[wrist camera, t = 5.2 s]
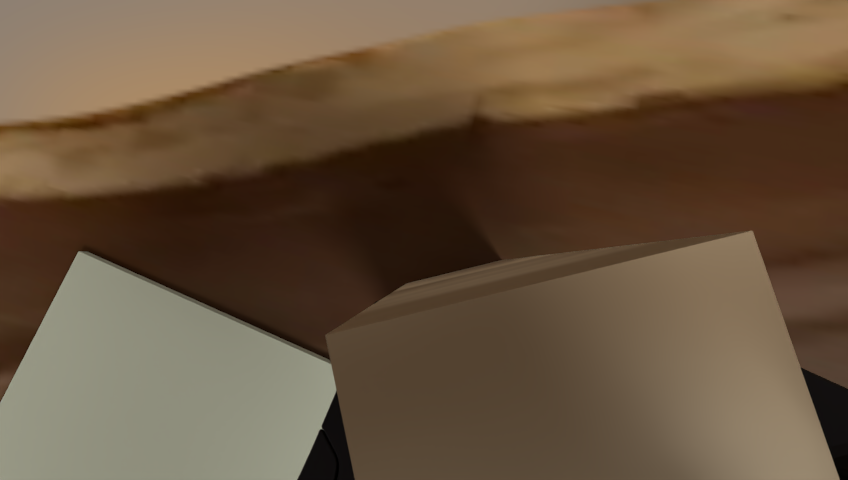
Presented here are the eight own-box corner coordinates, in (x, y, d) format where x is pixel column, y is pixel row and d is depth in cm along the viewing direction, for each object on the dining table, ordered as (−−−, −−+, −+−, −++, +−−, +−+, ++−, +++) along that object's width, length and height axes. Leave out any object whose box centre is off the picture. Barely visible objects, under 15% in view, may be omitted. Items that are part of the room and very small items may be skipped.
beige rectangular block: (520, 328, 15) (868, 558, 3) (422, 352, 15) (395, 677, 3) (501, 260, 15) (751, 230, 3) (406, 283, 15) (324, 335, 3)
